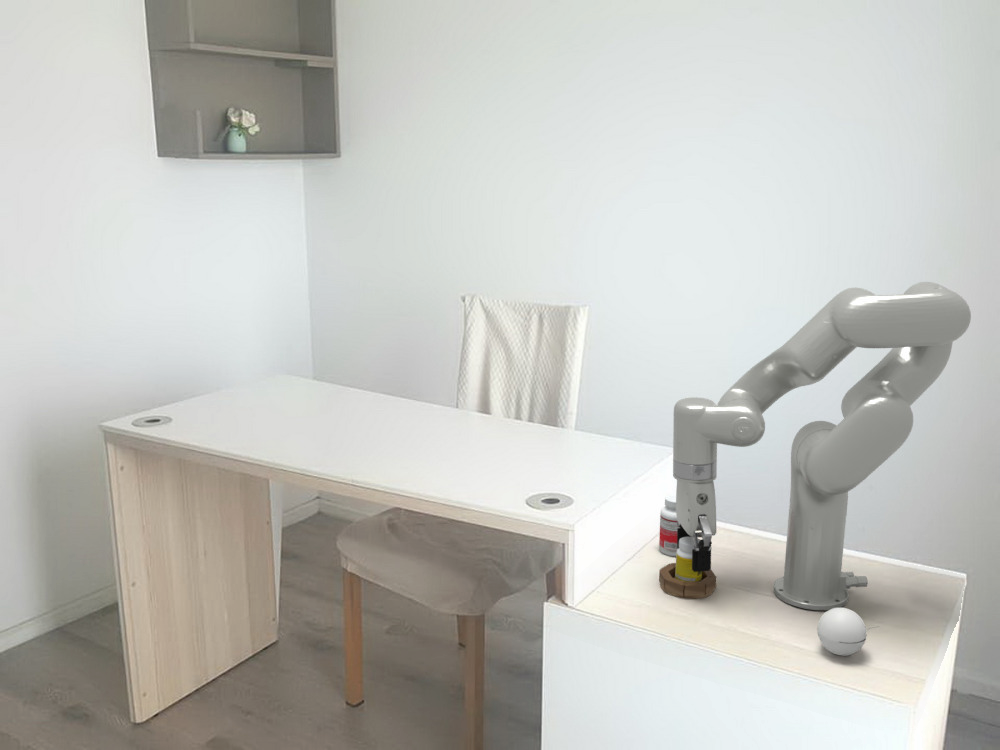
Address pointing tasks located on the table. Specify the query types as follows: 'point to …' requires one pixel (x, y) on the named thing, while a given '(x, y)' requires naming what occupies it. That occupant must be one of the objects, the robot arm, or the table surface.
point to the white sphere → (842, 631)
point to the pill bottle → (668, 527)
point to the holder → (686, 584)
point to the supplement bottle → (686, 561)
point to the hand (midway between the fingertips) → (693, 559)
